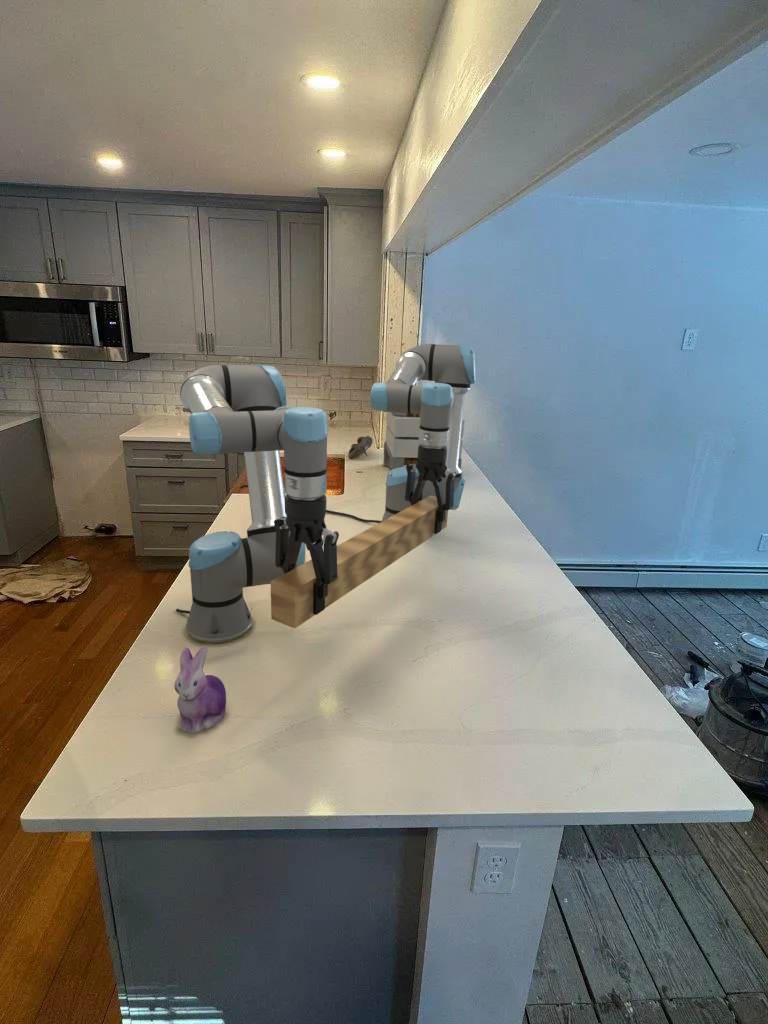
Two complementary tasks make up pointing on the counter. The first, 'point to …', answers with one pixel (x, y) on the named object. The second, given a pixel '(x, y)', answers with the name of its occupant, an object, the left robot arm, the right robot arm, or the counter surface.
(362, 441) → the fossil
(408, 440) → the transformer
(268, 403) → the left robot arm
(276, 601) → the beam
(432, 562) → the counter surface
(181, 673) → the figurine
